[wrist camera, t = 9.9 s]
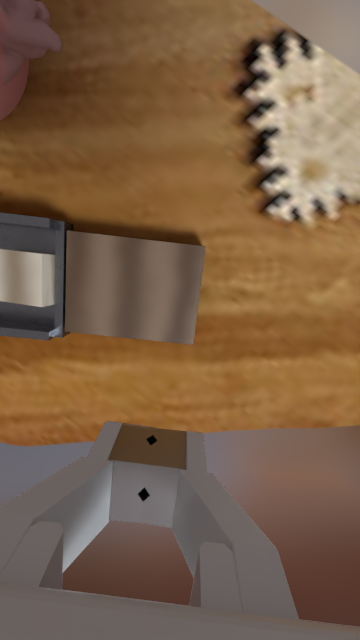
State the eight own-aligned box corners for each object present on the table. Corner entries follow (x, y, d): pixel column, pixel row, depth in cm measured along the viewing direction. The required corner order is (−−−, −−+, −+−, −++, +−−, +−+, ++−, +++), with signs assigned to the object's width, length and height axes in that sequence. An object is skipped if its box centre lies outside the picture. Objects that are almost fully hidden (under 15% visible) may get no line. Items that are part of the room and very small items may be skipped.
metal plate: (203, 247, 34) (205, 246, 31) (191, 337, 36) (193, 344, 33) (76, 233, 33) (66, 230, 30) (74, 325, 36) (64, 331, 33)
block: (58, 255, 32) (42, 253, 29) (57, 303, 33) (42, 307, 31) (14, 250, 33) (-7, 248, 30) (15, 297, 34) (-5, 300, 31)
